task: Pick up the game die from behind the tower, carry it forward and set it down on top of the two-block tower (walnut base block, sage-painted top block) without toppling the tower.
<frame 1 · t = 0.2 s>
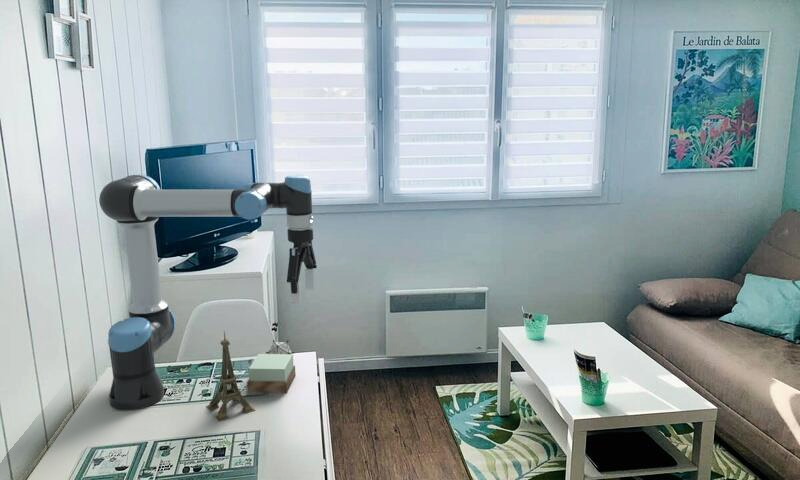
hand: (303, 296, 198), 28 cm above the table, fingers open, 13 cm apart
base block: (272, 385, 203), on the table
top block: (272, 373, 202), point 3 cm above the table
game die: (280, 364, 217), on the table
eiffel tower: (230, 409, 187), on the table
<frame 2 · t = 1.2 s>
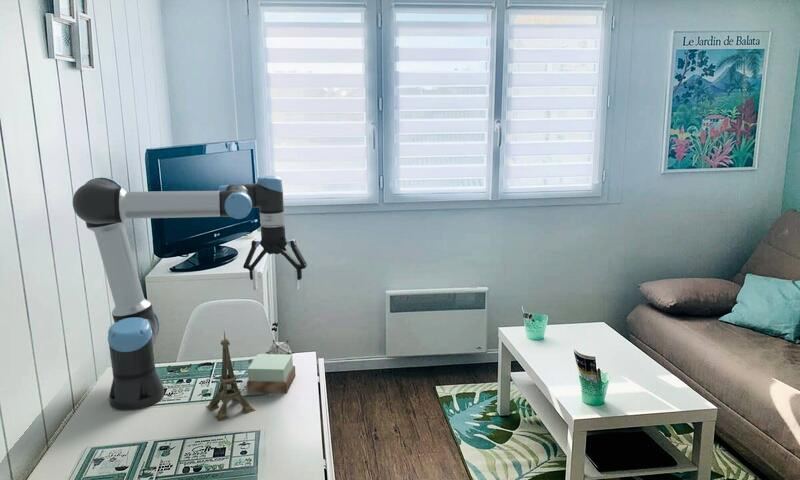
hand: (276, 289, 211), 26 cm above the table, fingers open, 13 cm apart
base block: (272, 385, 203), on the table, touching top block
top block: (271, 373, 202), point 3 cm above the table, touching base block
everything else where it was.
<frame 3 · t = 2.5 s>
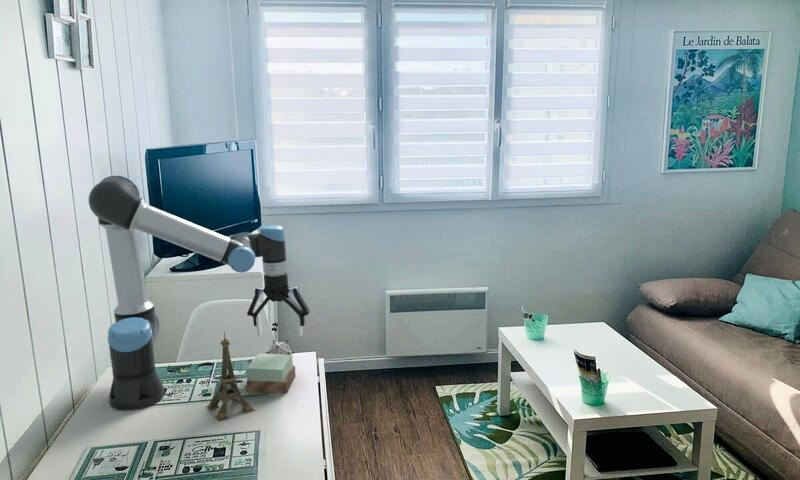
hand: (280, 335, 215), 10 cm above the table, fingers open, 13 cm apart
nothing on the table moved.
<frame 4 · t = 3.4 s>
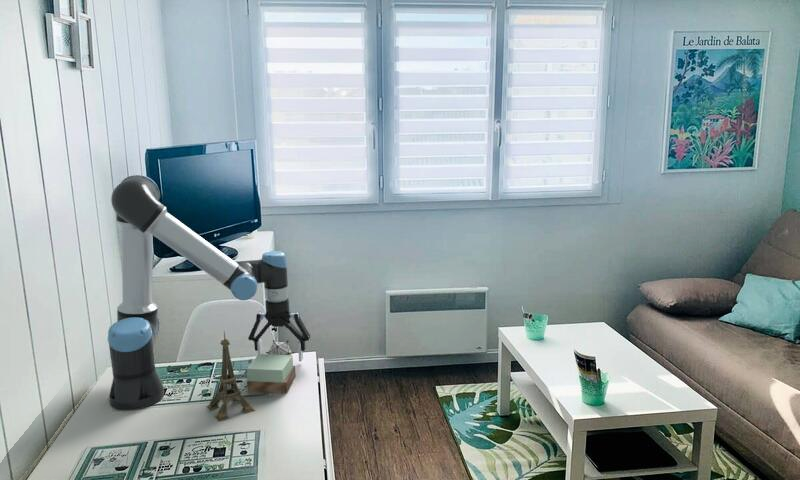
hand: (280, 359, 217), 1 cm above the table, fingers open, 13 cm apart
nothing on the table moved.
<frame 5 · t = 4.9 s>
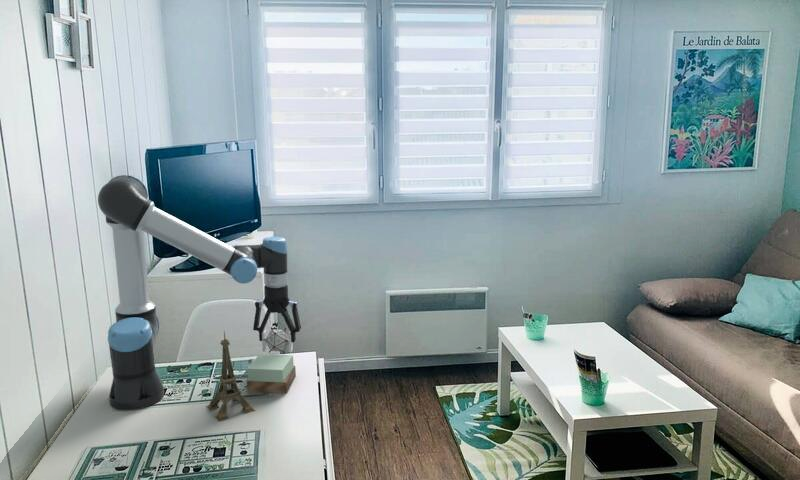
hand: (277, 350, 216), 5 cm above the table, fingers closed on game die, 8 cm apart
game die: (277, 352, 216), point 4 cm above the table, touching gripper
everything else where it was.
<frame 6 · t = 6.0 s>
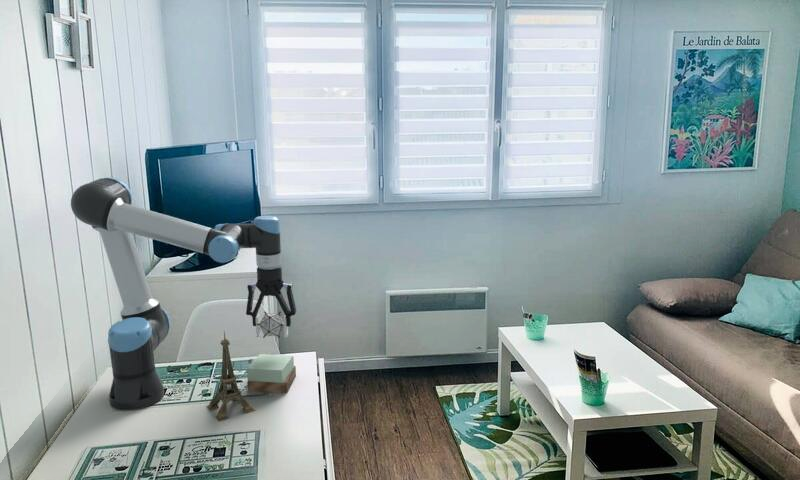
hand: (272, 335, 206), 13 cm above the table, fingers closed on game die, 8 cm apart
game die: (272, 337, 206), point 13 cm above the table, touching gripper
everything else where it was.
when the fingers open (10 cm above the table, at t = 7.5 s): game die drops 2 cm, resting on top block.
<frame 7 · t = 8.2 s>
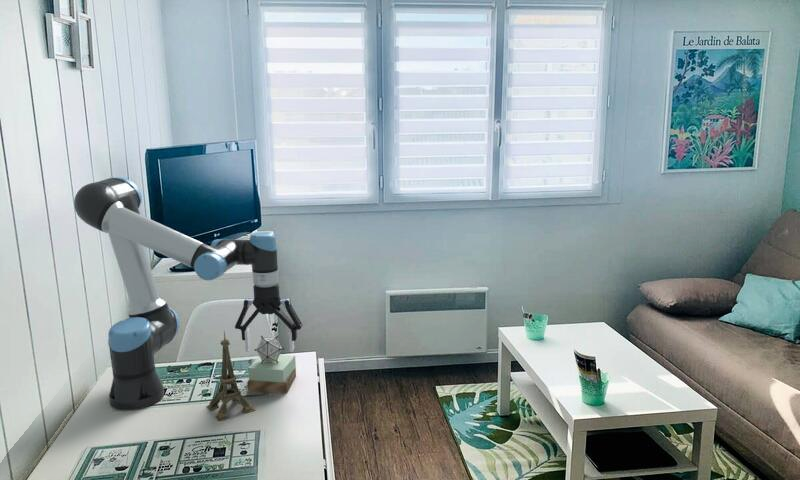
hand: (270, 350, 200), 11 cm above the table, fingers open, 13 cm apart
top block: (272, 373, 202), point 3 cm above the table, touching base block, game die
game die: (270, 362, 201), point 7 cm above the table, touching top block
everything else where it was.
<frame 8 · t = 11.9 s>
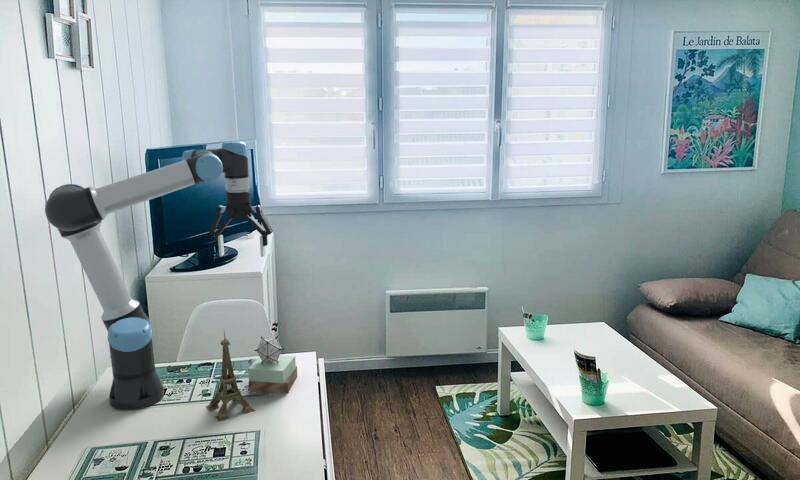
hand: (242, 255, 211), 37 cm above the table, fingers open, 13 cm apart
base block: (274, 385, 203), on the table
top block: (272, 374, 201), point 3 cm above the table, touching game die
everything else where it was.
at the end: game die 0.6 cm from the top block (horizontally); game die point 7.2 cm above the table; top block tilted 0° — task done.
